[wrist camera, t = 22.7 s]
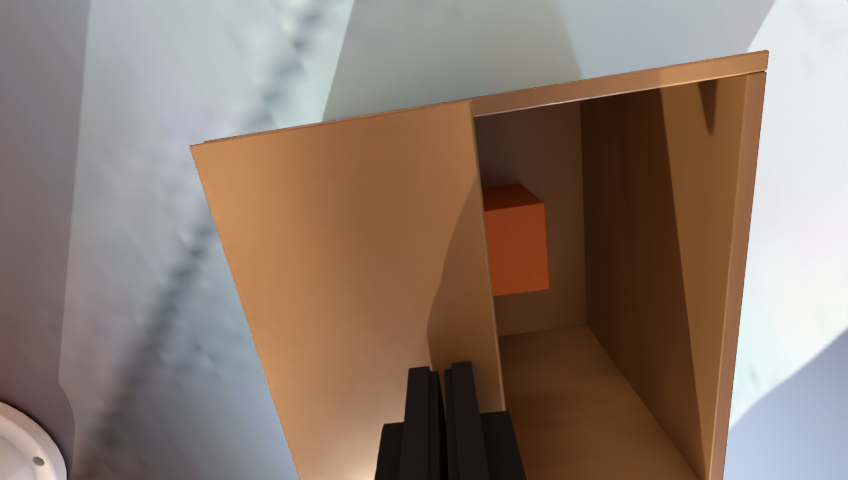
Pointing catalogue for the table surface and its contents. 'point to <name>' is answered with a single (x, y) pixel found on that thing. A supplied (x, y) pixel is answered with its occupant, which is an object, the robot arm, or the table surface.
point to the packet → (516, 239)
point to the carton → (627, 264)
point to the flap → (357, 270)
